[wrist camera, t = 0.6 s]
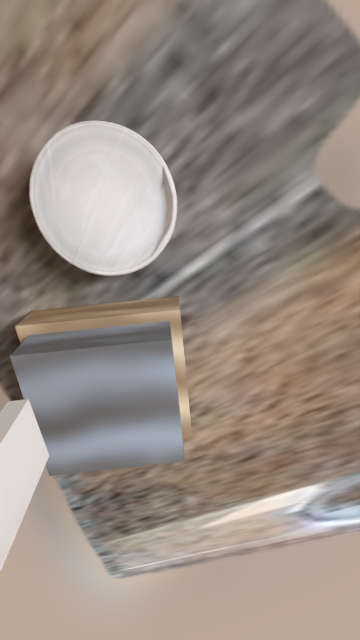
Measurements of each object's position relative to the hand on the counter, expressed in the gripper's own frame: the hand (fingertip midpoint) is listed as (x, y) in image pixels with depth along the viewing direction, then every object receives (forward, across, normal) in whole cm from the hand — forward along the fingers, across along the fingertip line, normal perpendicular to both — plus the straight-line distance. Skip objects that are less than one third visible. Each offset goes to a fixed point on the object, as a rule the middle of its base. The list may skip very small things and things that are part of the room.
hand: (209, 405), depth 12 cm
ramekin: (+22, -5, +7) cm, 23 cm away
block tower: (+21, -8, -10) cm, 25 cm away
